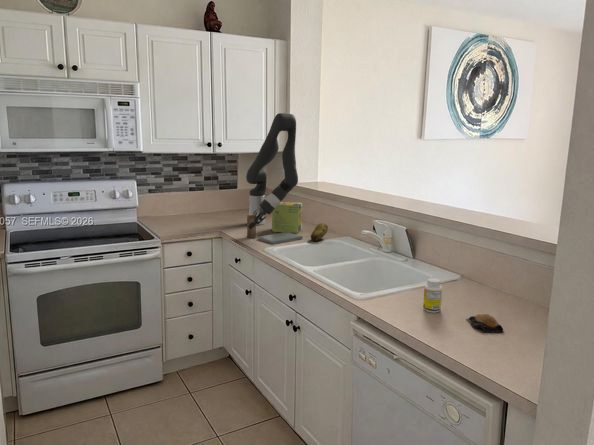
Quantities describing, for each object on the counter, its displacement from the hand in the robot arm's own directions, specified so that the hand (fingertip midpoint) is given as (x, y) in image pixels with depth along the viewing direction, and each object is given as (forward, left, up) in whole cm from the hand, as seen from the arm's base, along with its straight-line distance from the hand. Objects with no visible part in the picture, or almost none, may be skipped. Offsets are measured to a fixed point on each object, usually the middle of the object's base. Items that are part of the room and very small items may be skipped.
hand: (248, 227), depth 252 cm
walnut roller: (+1, +2, -6) cm, 6 cm away
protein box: (-1, +28, -6) cm, 28 cm away
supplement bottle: (+121, -11, -6) cm, 121 cm away
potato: (+26, +27, -6) cm, 37 cm away
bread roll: (+138, -10, -6) cm, 139 cm away
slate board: (+13, +11, -6) cm, 18 cm away
